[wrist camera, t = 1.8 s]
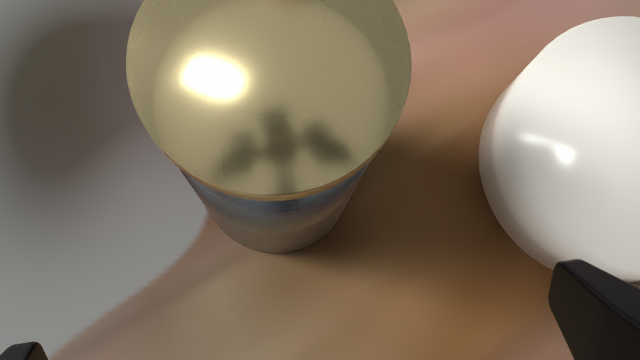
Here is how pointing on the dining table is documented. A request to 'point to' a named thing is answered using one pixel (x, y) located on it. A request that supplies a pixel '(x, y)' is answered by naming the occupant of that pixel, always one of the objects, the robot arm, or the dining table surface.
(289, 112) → the grey tin
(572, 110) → the ceramic trivet
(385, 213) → the dining table surface
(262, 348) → the dining table surface
